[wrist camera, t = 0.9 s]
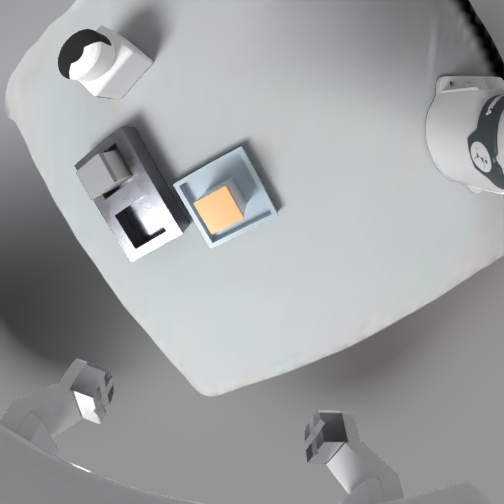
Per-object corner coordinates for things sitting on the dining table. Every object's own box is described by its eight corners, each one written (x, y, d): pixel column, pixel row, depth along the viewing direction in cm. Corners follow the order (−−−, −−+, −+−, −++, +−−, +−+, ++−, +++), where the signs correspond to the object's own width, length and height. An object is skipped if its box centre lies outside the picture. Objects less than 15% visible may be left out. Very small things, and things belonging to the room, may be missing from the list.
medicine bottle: (92, 74, 33) (42, 64, 21) (124, 37, 30) (80, 13, 19) (120, 100, 34) (72, 95, 23) (154, 62, 32) (114, 41, 21)
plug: (232, 176, 38) (225, 185, 31) (247, 203, 39) (243, 218, 33) (205, 190, 39) (193, 203, 32) (220, 217, 40) (211, 234, 33)
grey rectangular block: (123, 148, 36) (98, 153, 30) (137, 173, 37) (114, 182, 31) (102, 164, 37) (75, 172, 30) (116, 188, 38) (91, 199, 32)
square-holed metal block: (89, 161, 38) (74, 165, 34) (134, 126, 36) (121, 127, 32) (141, 251, 43) (131, 262, 39) (190, 224, 41) (182, 233, 37)
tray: (242, 145, 36) (241, 146, 35) (277, 212, 40) (278, 216, 38) (177, 181, 39) (172, 184, 37) (213, 243, 42) (210, 248, 40)
